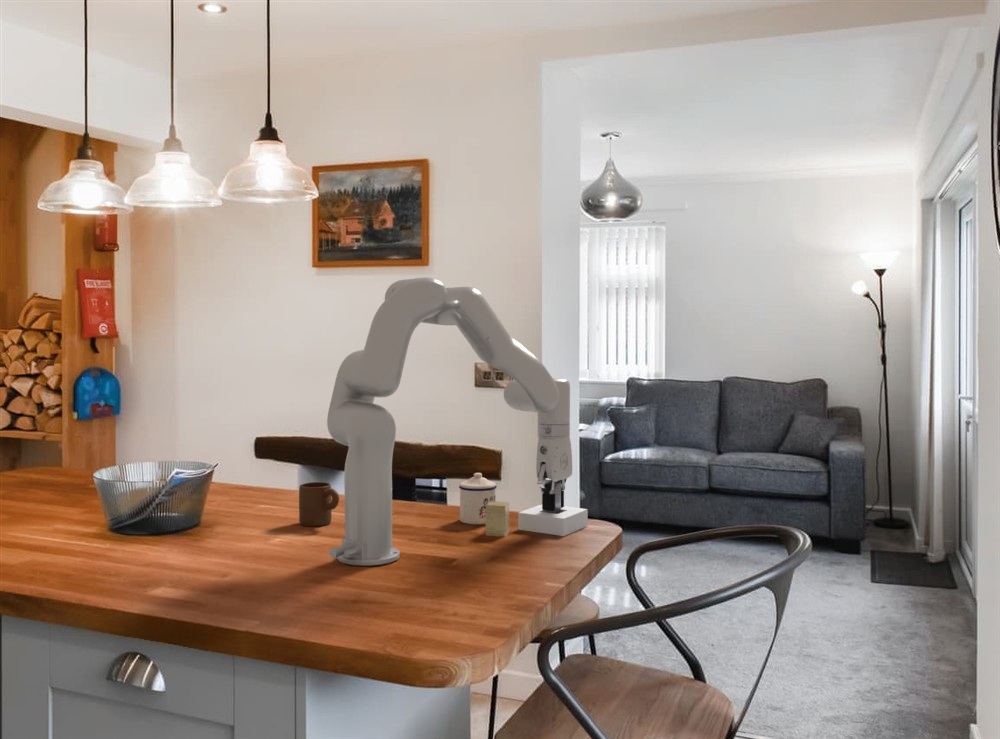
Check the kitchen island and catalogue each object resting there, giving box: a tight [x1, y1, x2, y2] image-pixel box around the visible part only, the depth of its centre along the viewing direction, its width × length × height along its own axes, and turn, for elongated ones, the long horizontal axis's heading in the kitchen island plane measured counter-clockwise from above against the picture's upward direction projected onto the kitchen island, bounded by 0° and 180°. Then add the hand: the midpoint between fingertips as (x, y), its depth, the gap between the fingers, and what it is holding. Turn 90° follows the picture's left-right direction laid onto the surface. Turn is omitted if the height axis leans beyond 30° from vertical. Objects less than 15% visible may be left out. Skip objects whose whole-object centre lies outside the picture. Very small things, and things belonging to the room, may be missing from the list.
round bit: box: [546, 481, 561, 514], centre depth 204 cm, size 4×4×8 cm
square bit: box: [485, 501, 510, 538], centre depth 198 cm, size 4×4×7 cm
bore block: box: [517, 503, 589, 537], centre depth 204 cm, size 12×12×4 cm
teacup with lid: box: [458, 472, 497, 526], centre depth 212 cm, size 12×9×12 cm
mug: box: [298, 481, 340, 528], centre depth 206 cm, size 12×8×9 cm, turn 51°
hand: (553, 507), depth 204 cm, fingers closed on round bit, 3 cm apart
